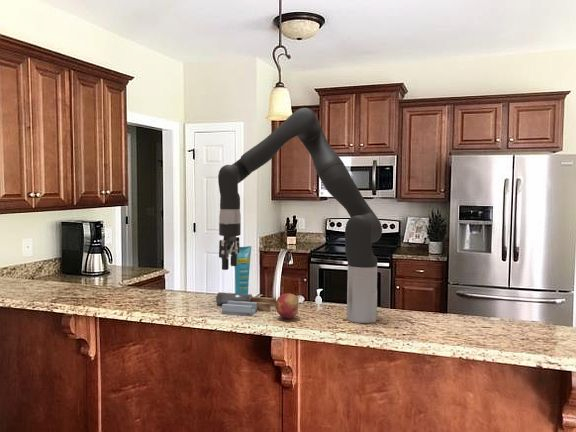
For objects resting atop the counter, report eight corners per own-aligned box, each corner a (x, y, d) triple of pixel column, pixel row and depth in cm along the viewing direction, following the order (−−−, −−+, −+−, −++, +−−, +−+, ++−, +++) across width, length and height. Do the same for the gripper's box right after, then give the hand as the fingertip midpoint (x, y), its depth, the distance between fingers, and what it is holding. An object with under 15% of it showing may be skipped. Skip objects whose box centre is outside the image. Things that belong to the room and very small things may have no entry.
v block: (256, 311, 158) (257, 302, 158) (251, 316, 152) (251, 306, 152) (228, 309, 160) (228, 300, 160) (221, 313, 154) (221, 304, 154)
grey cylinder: (252, 306, 167) (252, 293, 167) (248, 308, 162) (248, 295, 163) (220, 304, 170) (221, 291, 170) (215, 305, 165) (216, 293, 165)
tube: (236, 297, 179) (236, 247, 178) (230, 295, 183) (230, 246, 182) (253, 295, 183) (253, 246, 183) (247, 293, 187) (247, 245, 187)
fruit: (291, 323, 144) (291, 297, 144) (270, 319, 148) (270, 294, 148) (303, 317, 151) (304, 293, 150) (283, 314, 155) (283, 290, 154)
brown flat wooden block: (276, 305, 167) (276, 298, 167) (269, 311, 158) (269, 303, 158) (244, 303, 170) (244, 296, 170) (235, 308, 161) (235, 301, 161)
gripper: (227, 220, 173) (226, 264, 174) (212, 222, 159) (211, 270, 160) (246, 221, 171) (246, 265, 172) (233, 223, 157) (232, 271, 158)
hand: (229, 267), depth 166 cm, fingers open, 8 cm apart
